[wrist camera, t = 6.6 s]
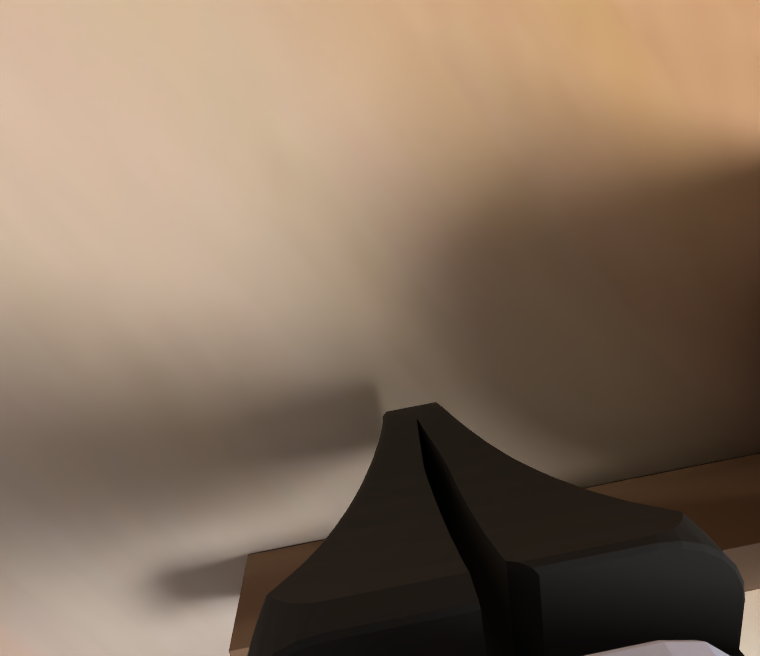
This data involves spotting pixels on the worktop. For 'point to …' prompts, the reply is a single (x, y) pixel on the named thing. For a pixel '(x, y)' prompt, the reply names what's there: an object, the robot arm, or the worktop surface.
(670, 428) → the worktop surface
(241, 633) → the rail
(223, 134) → the worktop surface
